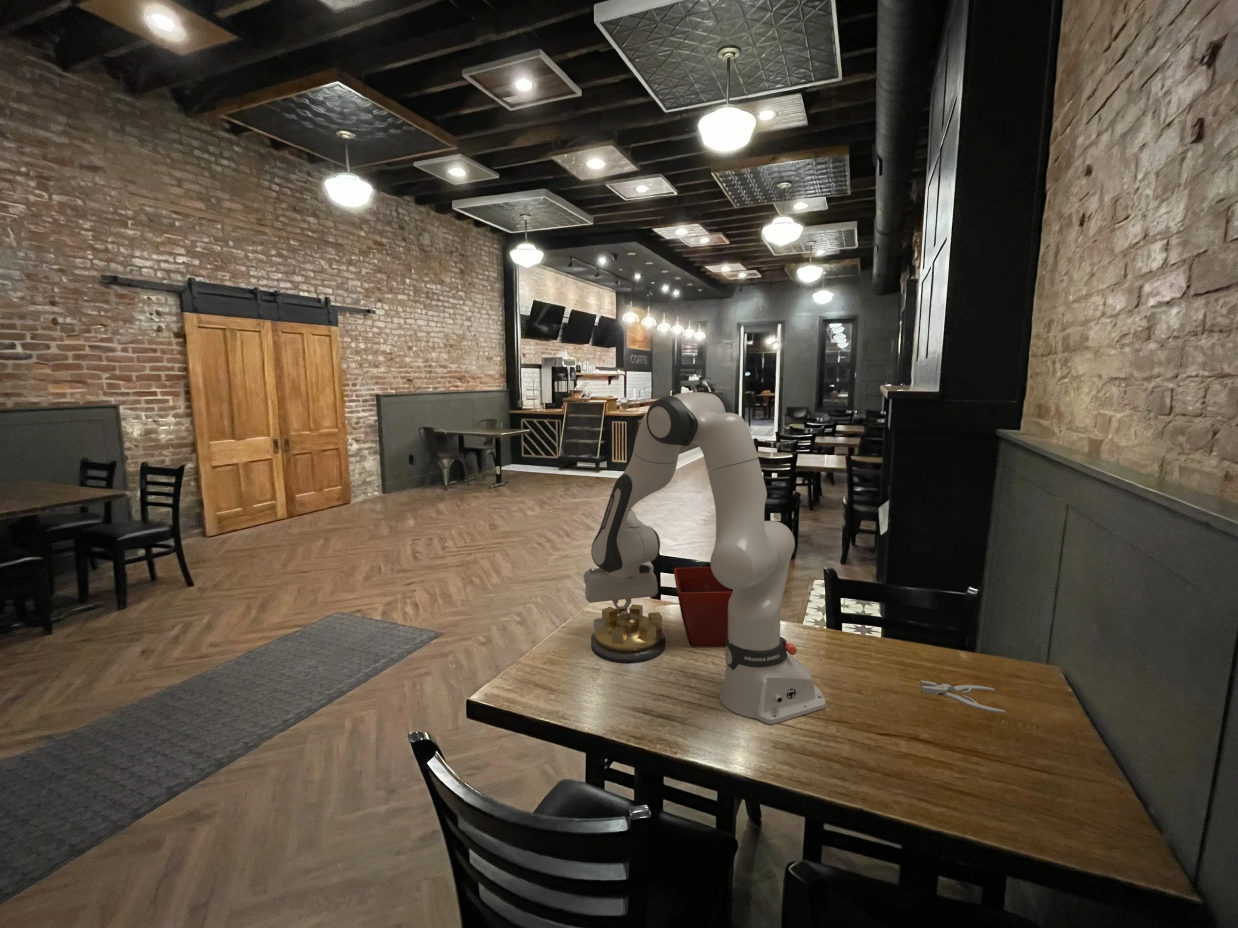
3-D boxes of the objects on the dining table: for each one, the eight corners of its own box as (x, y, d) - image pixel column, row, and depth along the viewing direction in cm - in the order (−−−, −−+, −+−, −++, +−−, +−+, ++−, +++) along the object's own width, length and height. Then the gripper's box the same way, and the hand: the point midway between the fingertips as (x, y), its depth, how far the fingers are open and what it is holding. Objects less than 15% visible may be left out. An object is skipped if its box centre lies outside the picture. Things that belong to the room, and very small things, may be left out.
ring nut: (652, 619, 161) (651, 601, 160) (670, 648, 144) (670, 628, 143) (590, 626, 158) (589, 607, 157) (600, 656, 140) (600, 636, 140)
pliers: (1005, 708, 117) (924, 694, 122) (1005, 715, 117) (923, 701, 123) (994, 684, 126) (918, 672, 131) (993, 690, 126) (918, 679, 132)
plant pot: (678, 653, 146) (677, 591, 143) (673, 622, 164) (673, 567, 162) (752, 653, 145) (753, 591, 142) (739, 622, 164) (740, 566, 161)
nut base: (654, 625, 163) (654, 617, 162) (675, 658, 143) (675, 649, 143) (586, 632, 159) (585, 625, 159) (597, 667, 140) (597, 658, 139)
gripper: (585, 572, 150) (586, 621, 152) (659, 566, 154) (659, 614, 156) (582, 565, 157) (583, 612, 159) (653, 559, 161) (653, 605, 163)
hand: (621, 613), depth 158 cm, fingers closed
